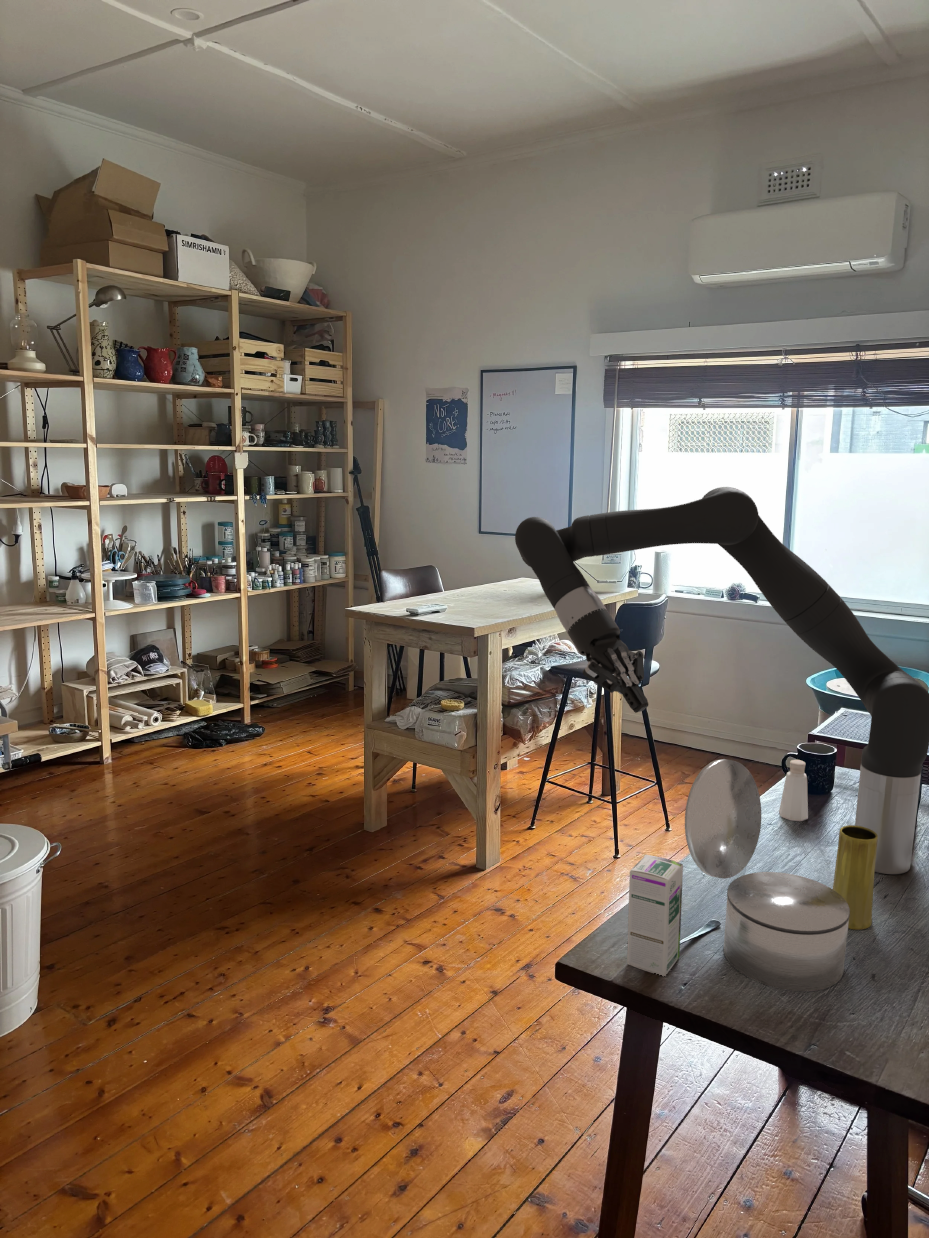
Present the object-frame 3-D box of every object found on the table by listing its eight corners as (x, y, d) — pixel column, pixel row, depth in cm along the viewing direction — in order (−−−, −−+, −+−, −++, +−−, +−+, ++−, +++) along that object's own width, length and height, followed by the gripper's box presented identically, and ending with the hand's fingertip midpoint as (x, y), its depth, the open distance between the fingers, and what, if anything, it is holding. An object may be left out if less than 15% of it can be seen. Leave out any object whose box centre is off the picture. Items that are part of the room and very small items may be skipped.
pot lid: (767, 858, 138) (751, 855, 140) (754, 748, 137) (738, 747, 139) (699, 894, 127) (683, 890, 129) (685, 775, 126) (669, 773, 129)
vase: (875, 932, 134) (885, 843, 132) (832, 927, 136) (840, 839, 133) (866, 911, 140) (875, 825, 137) (824, 907, 142) (832, 821, 139)
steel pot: (763, 914, 139) (768, 861, 137) (865, 961, 127) (872, 903, 125) (700, 952, 129) (704, 895, 127) (804, 1007, 117) (810, 944, 115)
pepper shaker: (804, 823, 171) (809, 768, 169) (775, 817, 174) (779, 762, 172) (811, 813, 176) (816, 760, 174) (782, 807, 179) (786, 754, 176)
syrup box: (665, 978, 123) (671, 879, 120) (624, 964, 126) (629, 868, 123) (679, 957, 128) (685, 862, 125) (640, 945, 131) (644, 852, 128)
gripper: (570, 612, 142) (628, 705, 136) (626, 602, 151) (683, 688, 144) (546, 639, 147) (600, 730, 141) (601, 628, 156) (655, 713, 149)
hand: (642, 709), depth 142 cm, fingers closed
